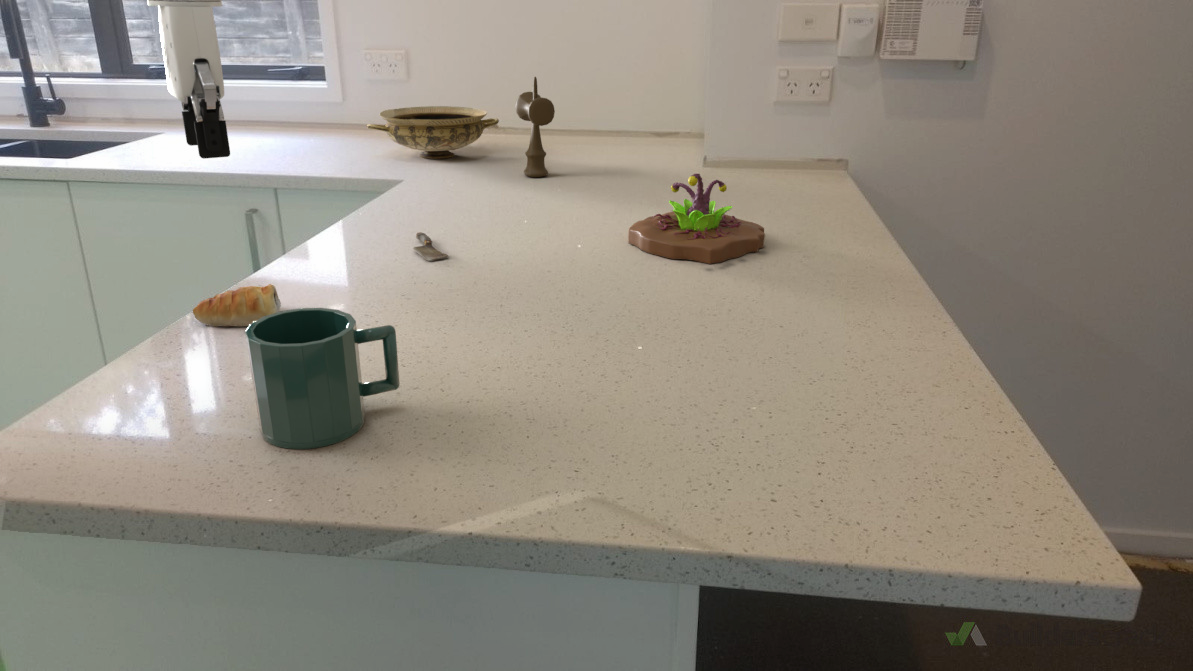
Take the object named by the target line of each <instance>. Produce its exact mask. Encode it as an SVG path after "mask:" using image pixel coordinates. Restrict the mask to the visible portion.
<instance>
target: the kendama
mask: <svg viewBox="0 0 1193 671" xmlns="http://www.w3.org/2000/svg"><path fill="white" fill-rule="evenodd" d="M537 79H538V78H537V76H533V81H532V91H525V92H523V93H521V94H519V95H518V97H517V98H516V101H515V112H516V115H517V116H518V118H519V119H521V120H523V121H525V122H526V121H527V122H531V130H530V131H531V132H530V139H529V144H528V148H527V150H526V151H525V153H524V154H525V157H526V159H527V164H526V167H525V169H524V170H523V174H524V175H525V176H526V177H530V178H543V177H546V176H548V175H549V171H548V169H547V168H546V165H545V158H546V156H547V152H546V151H545V150H544V147H543V142H542V136H541V129H540V127H542V126H547V125H549V124H551V123H552V121H553V119H554V118H555V111H556V110H555V105H554V103H553V102H552V100H551V99H549V98H547V97H541V95H540V94H538V80H537Z"/></svg>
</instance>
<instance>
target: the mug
mask: <svg viewBox="0 0 1193 671" xmlns="http://www.w3.org/2000/svg"><path fill="white" fill-rule="evenodd" d="M244 333H245V340H246V347H247V353H248V361H249V368H250V373H251V380H252V385H253V392H254V399H255V405H256V412H257V417H258V419H257V420H258V424H259V427H260V434H261V436H262V438H263V439H264V440H265V441H266V442H267V443H268V444H270V445H273V446H275V447H278V448H282V449H288V450H289V449H290V450H309V449H311V450H312V449H318V448H324V447H328V446H331V445H334V444H338V443H340V442H343V441H345V440H347V439H349V438H351V437H352V436H355V435H356V433H358V432H359V431H360V430H361V429H362V427H363V425H364V424H365V412H366V411H365V400H364V397H369V396H373V395H378V394H383V393H384V394H385V393H388V392H389V393H390V392H393V391H397V390H398V389H399V388H400V384H401V383H400V370H399V369H400V368H399V357H398V356H399V355H398V344H397V331H396V328H395V327H394V326H393V325H390V324H387V325H381V326H375V327H370V328H363V329H358V328H357V321H356V319H355V318H354V316H352V314H350V313H347V312H345V311H342V310H340V309H334V308H326V307H302V308H301V307H300V308H294V309H287V310H281V311H278V313H274V314H271V315H268V316H264V317H262V318H260V319H259V320H257V321H255V322H253V323H251V324H250V325H249V326H247V328H246V330H245V332H244ZM377 341H382V350H383V361H384V362H383V363H384V373H385V378H383V379H379V380H374V381H369V382H363V381H362V370H361V359H360V349H359V348H360V347H359V345H361V344H365V343H371V342H377Z"/></svg>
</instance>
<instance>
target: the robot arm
mask: <svg viewBox="0 0 1193 671" xmlns="http://www.w3.org/2000/svg"><path fill="white" fill-rule="evenodd" d="M146 3H147V7H148V6H149V7H157V9H158V11H157V12H158V13H157V14H158V22H159V23H158V25H159V34H160V42H161V48H162V49H161V50H162V55H163V61H164V68H165V75H166V76H165V77H166V83H167V84H166V85H167V90H168V92H169V94H170V95H171V96H173V97H174V98H175V99H177V100H178V101H180V102H181V107H182V111H181V116H182V122H183V128H184V134H185V139H186V140H185V141H186V144H187V145H188V146H191V147H192V146H197V150H198V156H199V158H201V159H204V160H205V159H217V158H228V157H230V156H231V149H230V143H229V135H228V129H227V128H228V127H227V121H226V120H225V115H224V114H225V113H224V110H223V106H222V102H221V99H223V97H224V96H225V83H224V73H223V66H222V59H221V52H220V47H219V46H220V45H219V39H218V35H217V25H216V23H215V16H214V10H213V8H217V7H219V8H220V7H223V1H222V0H146Z"/></svg>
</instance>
